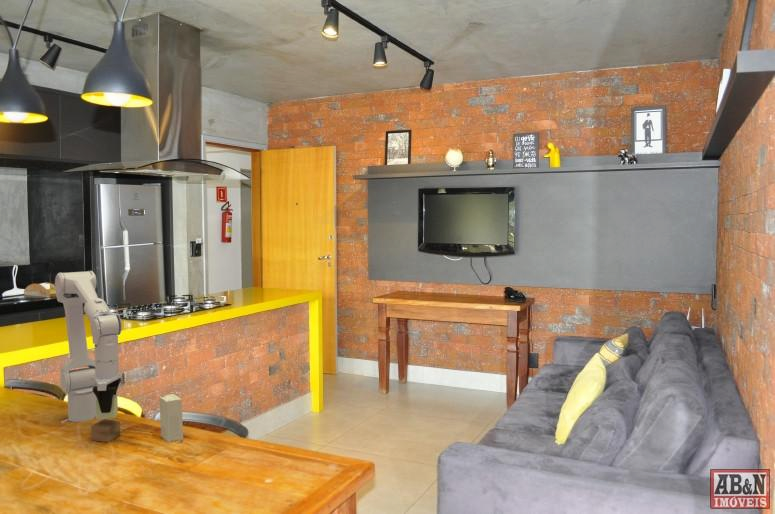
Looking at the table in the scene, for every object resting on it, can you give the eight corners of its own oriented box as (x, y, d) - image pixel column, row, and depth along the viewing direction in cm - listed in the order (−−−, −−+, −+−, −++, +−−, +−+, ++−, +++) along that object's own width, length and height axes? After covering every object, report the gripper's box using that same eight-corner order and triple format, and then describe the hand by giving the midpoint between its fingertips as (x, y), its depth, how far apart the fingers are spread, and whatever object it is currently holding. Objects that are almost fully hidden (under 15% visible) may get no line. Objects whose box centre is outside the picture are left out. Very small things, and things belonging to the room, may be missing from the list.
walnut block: (104, 433, 167) (104, 419, 167) (120, 435, 166) (120, 421, 166) (91, 440, 162) (91, 425, 162) (107, 442, 161) (107, 427, 161)
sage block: (99, 413, 166) (99, 395, 166) (117, 412, 167) (117, 394, 167) (96, 419, 162) (95, 400, 161) (114, 418, 163) (114, 399, 162)
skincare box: (184, 442, 165) (183, 398, 164) (167, 446, 162) (166, 401, 161) (175, 435, 170) (175, 393, 169) (159, 439, 167) (158, 396, 166)
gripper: (96, 353, 169) (97, 401, 170) (84, 367, 155) (85, 419, 156) (123, 352, 171) (124, 400, 172) (113, 366, 157) (115, 417, 158)
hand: (107, 409), depth 164 cm, fingers closed on sage block, 4 cm apart
